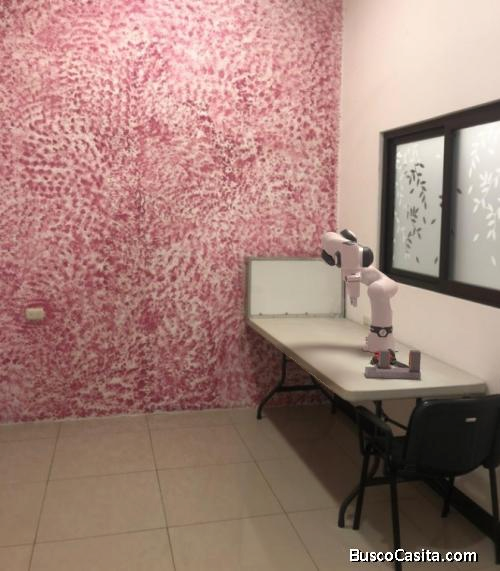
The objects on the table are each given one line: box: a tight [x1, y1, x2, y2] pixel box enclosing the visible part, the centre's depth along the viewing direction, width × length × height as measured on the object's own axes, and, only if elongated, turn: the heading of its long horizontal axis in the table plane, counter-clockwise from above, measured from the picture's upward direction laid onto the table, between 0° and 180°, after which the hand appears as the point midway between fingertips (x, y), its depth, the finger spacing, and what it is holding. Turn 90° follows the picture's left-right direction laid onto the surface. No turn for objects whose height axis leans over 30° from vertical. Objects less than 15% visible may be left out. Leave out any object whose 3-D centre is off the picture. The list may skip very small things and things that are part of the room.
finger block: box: [378, 349, 391, 369], centre depth 277 cm, size 4×4×9 cm
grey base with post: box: [364, 349, 422, 380], centre depth 276 cm, size 8×24×12 cm, turn 86°
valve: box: [369, 349, 409, 368], centre depth 299 cm, size 6×26×15 cm
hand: (353, 305), depth 281 cm, fingers open, 8 cm apart
